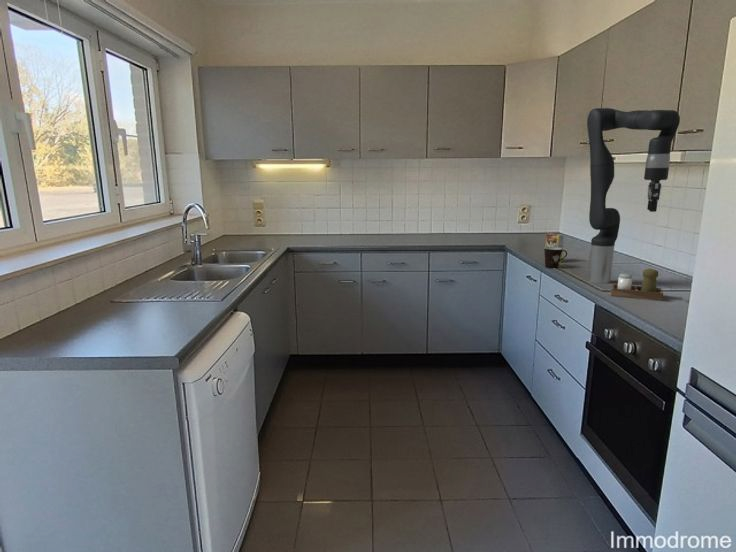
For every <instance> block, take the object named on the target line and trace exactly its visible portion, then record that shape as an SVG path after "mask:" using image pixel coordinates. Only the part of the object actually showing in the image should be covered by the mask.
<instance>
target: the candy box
mask: <svg viewBox="0 0 736 552" xmlns="http://www.w3.org/2000/svg"><path fill="white" fill-rule="evenodd" d="M545 236H546V237H545V247H558V248H562V250H564V241H565V240H564V239H565V238H564V237H565V235H563V234H557V233H552V232H551V233H550V232H549V233H546V235H545ZM545 247H544V248H545ZM563 252H564V251H563ZM563 252H561V257H560V259H562V258H563ZM560 262H561V263H562V262H563V260H561V261H560Z"/></svg>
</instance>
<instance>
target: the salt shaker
mask: <svg viewBox="0 0 736 552" xmlns="http://www.w3.org/2000/svg"><path fill="white" fill-rule="evenodd" d="M617 280H618V281H617V284H618V287H617V289H625V290H631V287H632V286H633V274H631V273H625V272H623V273H622V272H621V273H619V275H618V279H617Z"/></svg>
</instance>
